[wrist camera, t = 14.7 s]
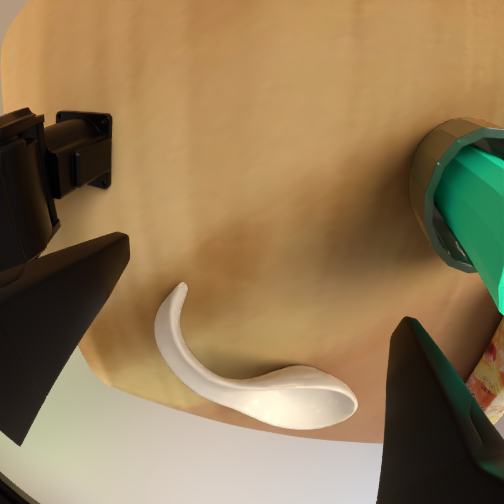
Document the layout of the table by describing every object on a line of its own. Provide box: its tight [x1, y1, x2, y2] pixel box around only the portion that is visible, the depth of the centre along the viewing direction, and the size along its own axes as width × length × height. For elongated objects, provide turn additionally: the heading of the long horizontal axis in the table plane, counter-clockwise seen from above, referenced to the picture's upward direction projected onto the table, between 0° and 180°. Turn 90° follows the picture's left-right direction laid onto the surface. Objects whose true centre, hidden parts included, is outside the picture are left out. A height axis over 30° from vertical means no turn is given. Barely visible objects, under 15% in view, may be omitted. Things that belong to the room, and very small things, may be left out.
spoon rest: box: [154, 282, 357, 430], centre depth 28 cm, size 24×12×7 cm, turn 52°
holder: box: [408, 118, 504, 273], centre depth 15 cm, size 10×10×4 cm
